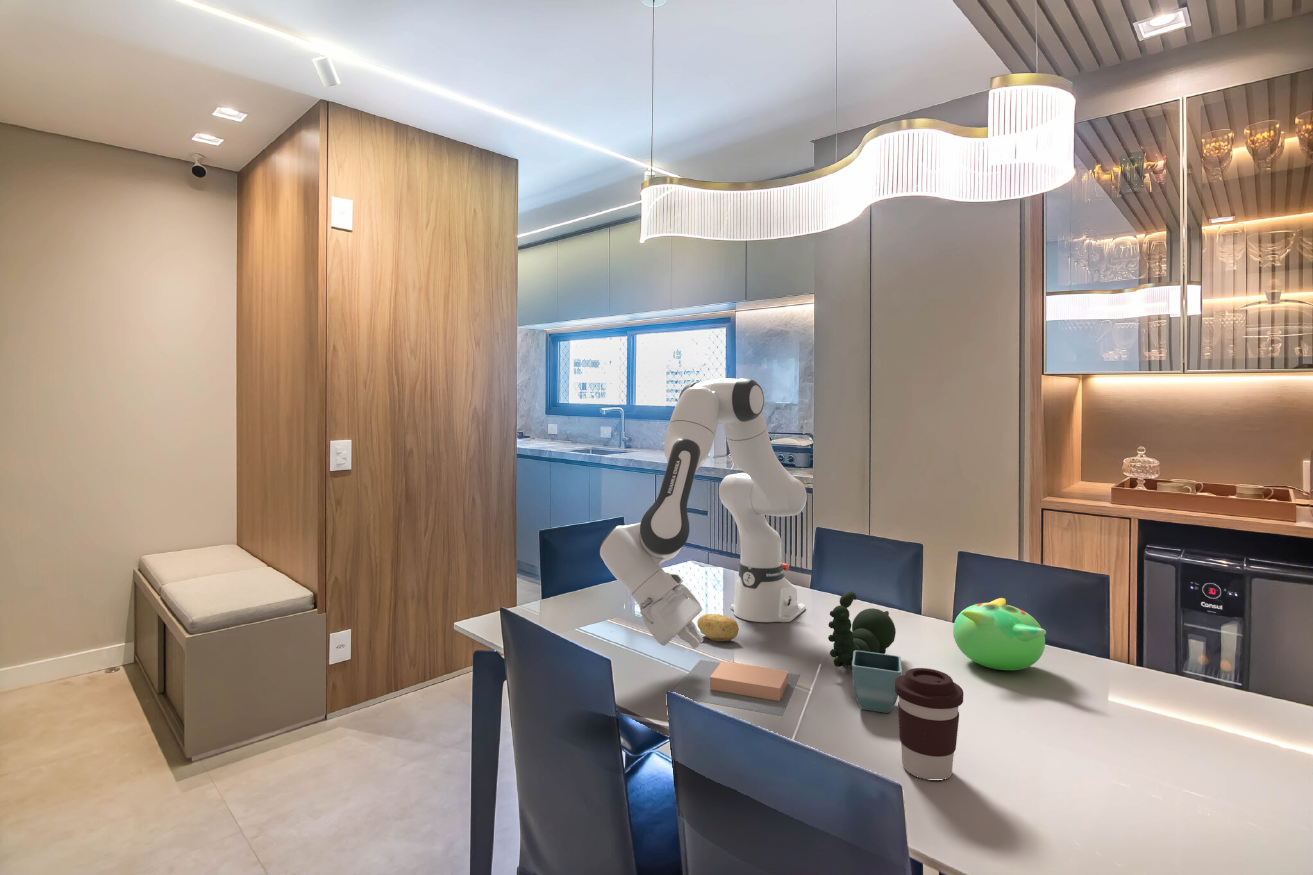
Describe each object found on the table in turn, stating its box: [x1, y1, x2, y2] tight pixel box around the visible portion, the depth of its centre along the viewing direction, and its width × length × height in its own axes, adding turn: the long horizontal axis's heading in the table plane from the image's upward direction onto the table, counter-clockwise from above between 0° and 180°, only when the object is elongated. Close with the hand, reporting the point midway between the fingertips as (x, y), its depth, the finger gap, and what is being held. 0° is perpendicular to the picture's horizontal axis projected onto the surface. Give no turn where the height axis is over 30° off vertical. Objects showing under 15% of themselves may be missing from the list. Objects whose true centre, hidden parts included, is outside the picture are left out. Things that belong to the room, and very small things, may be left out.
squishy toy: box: [952, 597, 1047, 671], centre depth 144 cm, size 18×17×15 cm
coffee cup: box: [895, 667, 964, 780], centre depth 102 cm, size 10×10×15 cm
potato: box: [696, 613, 740, 642], centre depth 160 cm, size 7×11×6 cm, turn 45°
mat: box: [673, 659, 800, 717], centre depth 132 cm, size 22×20×1 cm
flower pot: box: [851, 650, 903, 714], centre depth 124 cm, size 9×9×9 cm
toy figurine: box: [827, 590, 897, 672], centre depth 146 cm, size 9×19×25 cm
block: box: [710, 660, 789, 701], centre depth 131 cm, size 3×9×14 cm
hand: (699, 644), depth 135 cm, fingers closed
